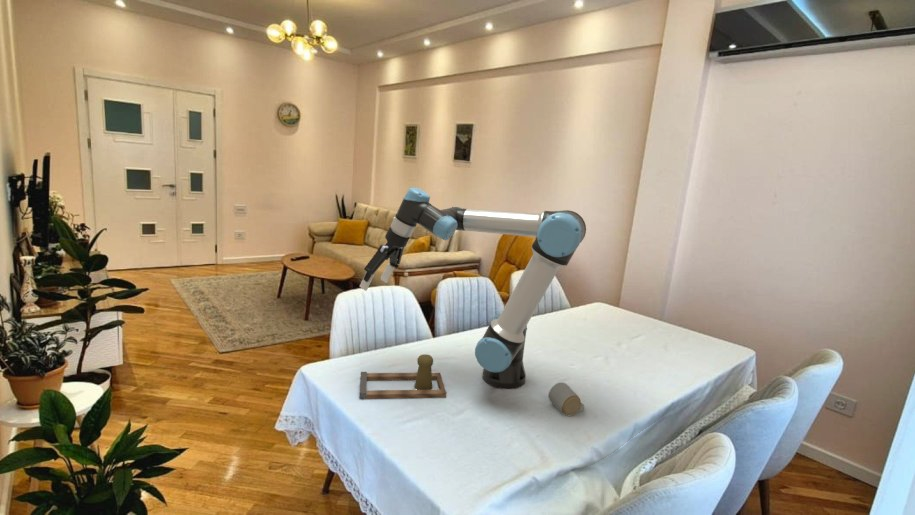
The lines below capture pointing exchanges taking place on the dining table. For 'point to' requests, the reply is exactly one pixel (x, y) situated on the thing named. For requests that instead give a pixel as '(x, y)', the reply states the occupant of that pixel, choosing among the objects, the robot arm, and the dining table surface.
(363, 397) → the end stop
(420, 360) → the cork
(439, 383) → the walnut channel
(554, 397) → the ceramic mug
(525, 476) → the dining table surface
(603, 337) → the dining table surface
